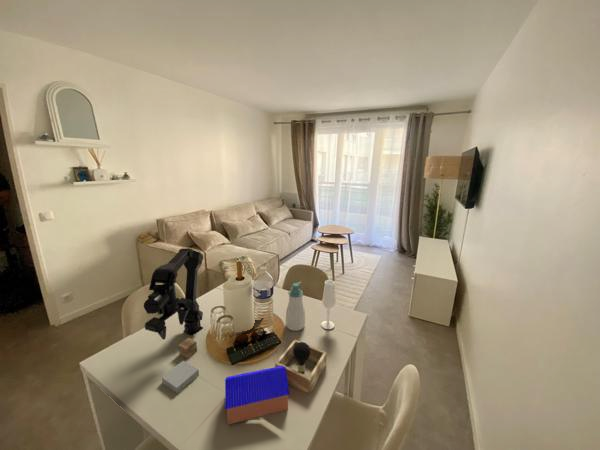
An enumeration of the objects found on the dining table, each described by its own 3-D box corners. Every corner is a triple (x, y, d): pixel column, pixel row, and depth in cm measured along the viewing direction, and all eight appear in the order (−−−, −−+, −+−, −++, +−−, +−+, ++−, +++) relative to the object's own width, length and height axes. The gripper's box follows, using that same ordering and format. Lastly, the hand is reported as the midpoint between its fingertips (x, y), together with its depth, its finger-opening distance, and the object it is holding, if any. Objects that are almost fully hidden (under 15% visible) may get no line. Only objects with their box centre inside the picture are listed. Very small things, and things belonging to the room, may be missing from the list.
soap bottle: (308, 324, 123) (309, 284, 118) (296, 334, 116) (296, 291, 111) (294, 317, 129) (295, 278, 124) (281, 325, 122) (281, 284, 117)
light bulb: (309, 363, 99) (309, 338, 96) (310, 377, 93) (311, 351, 90) (292, 363, 99) (293, 338, 96) (293, 377, 92) (293, 351, 89)
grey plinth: (184, 366, 97) (183, 360, 97) (199, 376, 93) (198, 369, 92) (162, 383, 90) (161, 377, 89) (177, 394, 85) (176, 387, 85)
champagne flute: (330, 331, 119) (332, 286, 113) (318, 325, 123) (320, 282, 117) (336, 324, 124) (339, 281, 118) (325, 319, 128) (327, 277, 122)
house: (227, 391, 86) (225, 365, 84) (282, 380, 91) (282, 354, 89) (226, 425, 75) (224, 396, 72) (289, 410, 80) (289, 381, 77)
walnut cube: (189, 347, 107) (188, 337, 106) (197, 351, 105) (196, 341, 104) (179, 354, 103) (178, 344, 102) (187, 359, 101) (186, 349, 99)
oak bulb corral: (294, 351, 106) (294, 339, 104) (326, 364, 99) (326, 352, 97) (275, 376, 93) (274, 363, 91) (309, 394, 86) (310, 380, 84)
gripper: (170, 283, 106) (174, 314, 110) (130, 307, 89) (137, 342, 93) (191, 287, 103) (195, 319, 107) (153, 313, 85) (159, 349, 89)
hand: (172, 331), depth 99 cm, fingers open, 9 cm apart
